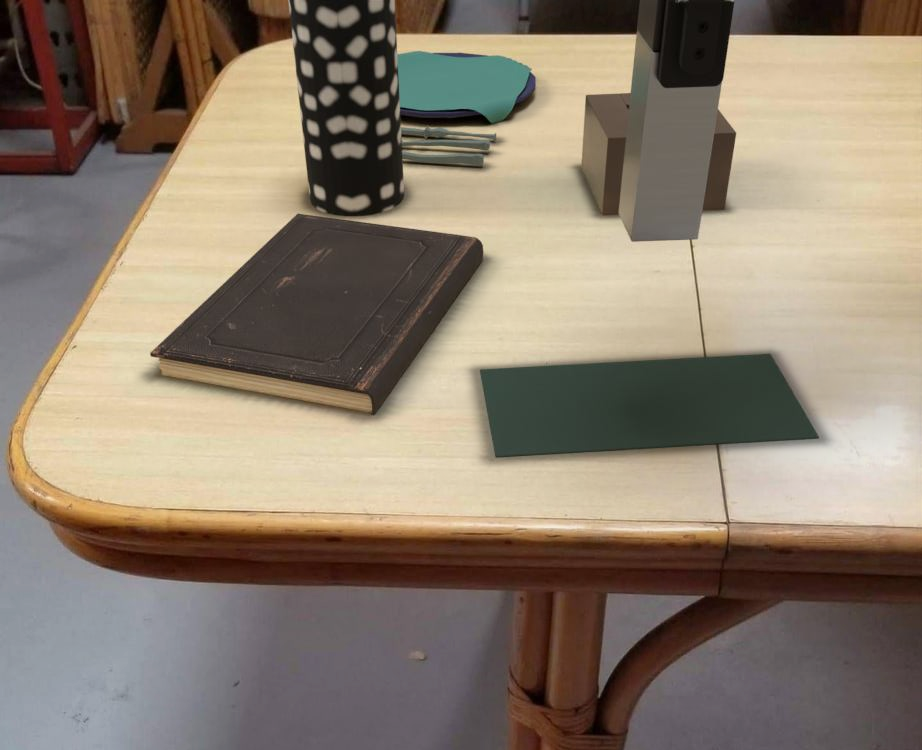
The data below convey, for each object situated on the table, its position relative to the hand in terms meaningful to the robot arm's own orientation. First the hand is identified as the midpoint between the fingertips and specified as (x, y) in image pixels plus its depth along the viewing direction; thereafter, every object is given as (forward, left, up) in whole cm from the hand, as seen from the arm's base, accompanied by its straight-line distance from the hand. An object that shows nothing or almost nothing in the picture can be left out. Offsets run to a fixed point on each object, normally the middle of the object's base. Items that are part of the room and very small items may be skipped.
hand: (679, 67), depth 55 cm
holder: (-8, -34, -21) cm, 41 cm away
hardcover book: (+20, -14, -21) cm, 32 cm away
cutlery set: (+10, -56, -21) cm, 61 cm away
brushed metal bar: (0, 0, -9) cm, 9 cm away
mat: (0, 0, -21) cm, 21 cm away
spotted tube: (+18, -35, -21) cm, 45 cm away
